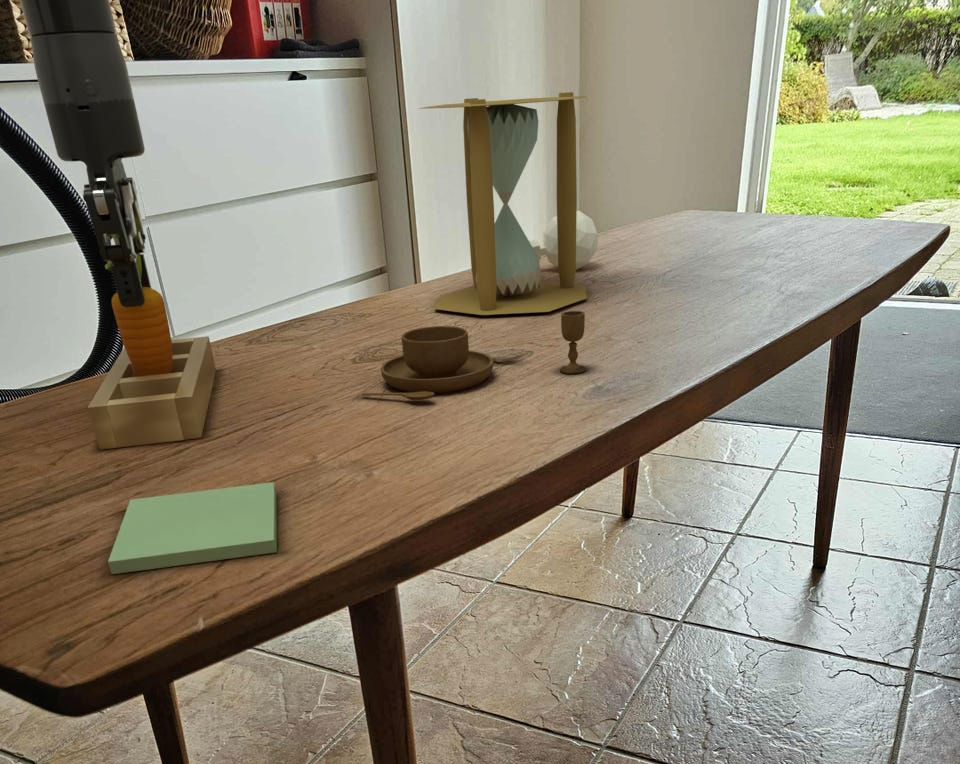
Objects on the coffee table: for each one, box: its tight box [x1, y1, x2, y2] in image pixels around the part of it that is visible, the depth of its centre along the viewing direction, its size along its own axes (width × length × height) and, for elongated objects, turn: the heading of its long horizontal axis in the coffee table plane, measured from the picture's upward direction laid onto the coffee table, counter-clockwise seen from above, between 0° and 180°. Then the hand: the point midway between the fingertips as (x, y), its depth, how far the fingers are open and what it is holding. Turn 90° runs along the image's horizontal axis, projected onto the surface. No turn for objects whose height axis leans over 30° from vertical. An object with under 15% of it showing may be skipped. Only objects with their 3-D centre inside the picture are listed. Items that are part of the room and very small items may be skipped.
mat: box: [107, 481, 278, 575], centre depth 65 cm, size 11×11×1 cm
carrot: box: [104, 254, 173, 377], centre depth 89 cm, size 5×5×15 cm
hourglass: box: [417, 91, 588, 316], centre depth 122 cm, size 24×22×25 cm
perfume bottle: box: [529, 210, 599, 271], centre depth 145 cm, size 9×9×12 cm
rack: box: [87, 335, 217, 451], centre depth 92 cm, size 9×24×4 cm, turn 11°
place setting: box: [360, 310, 587, 401], centre depth 93 cm, size 18×20×6 cm
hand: (137, 299), depth 88 cm, fingers closed on carrot, 5 cm apart
